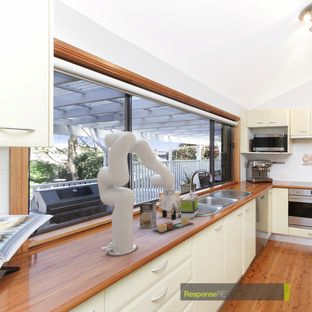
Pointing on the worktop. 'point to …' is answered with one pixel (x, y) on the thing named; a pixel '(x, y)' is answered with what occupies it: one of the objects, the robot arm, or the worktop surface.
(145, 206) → the coffee box
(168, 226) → the letter S
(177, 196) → the coffeecake box
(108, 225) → the worktop surface
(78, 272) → the worktop surface
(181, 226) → the word mat
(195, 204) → the tea box
